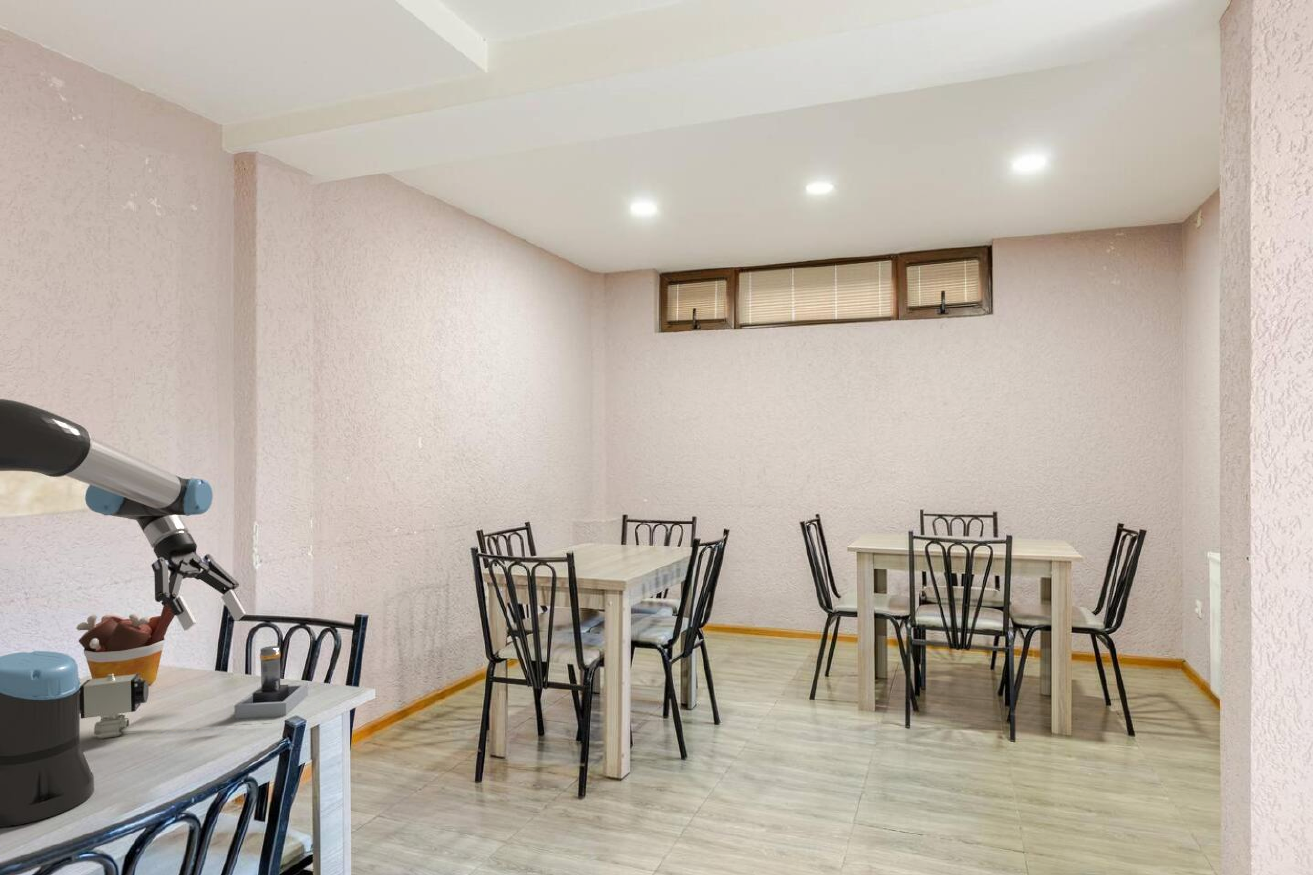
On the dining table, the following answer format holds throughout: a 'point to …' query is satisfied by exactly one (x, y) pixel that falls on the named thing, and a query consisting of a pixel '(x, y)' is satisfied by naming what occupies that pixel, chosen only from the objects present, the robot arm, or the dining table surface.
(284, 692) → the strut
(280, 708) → the bin
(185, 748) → the dining table surface
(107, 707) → the pneumatic valve
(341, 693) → the dining table surface
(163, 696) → the dining table surface
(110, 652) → the bucket of meat
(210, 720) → the dining table surface
